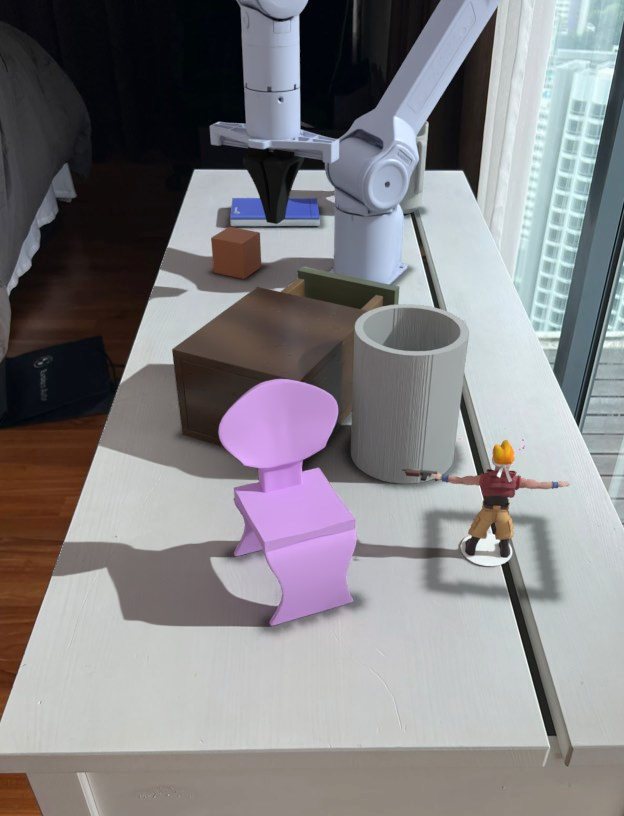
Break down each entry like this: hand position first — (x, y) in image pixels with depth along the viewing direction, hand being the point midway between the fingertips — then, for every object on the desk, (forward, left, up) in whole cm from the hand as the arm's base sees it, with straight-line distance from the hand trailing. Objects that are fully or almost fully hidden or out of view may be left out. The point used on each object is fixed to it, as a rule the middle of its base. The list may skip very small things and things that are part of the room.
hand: (275, 220), depth 95 cm
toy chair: (+44, +25, -9) cm, 51 cm away
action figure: (+35, +36, -9) cm, 51 cm away
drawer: (+12, +13, -8) cm, 20 cm away
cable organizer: (-36, -1, -9) cm, 37 cm away
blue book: (-23, -13, -9) cm, 28 cm away
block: (-4, -8, -9) cm, 13 cm away
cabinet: (+24, +13, -9) cm, 28 cm away
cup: (+25, +26, -9) cm, 37 cm away
